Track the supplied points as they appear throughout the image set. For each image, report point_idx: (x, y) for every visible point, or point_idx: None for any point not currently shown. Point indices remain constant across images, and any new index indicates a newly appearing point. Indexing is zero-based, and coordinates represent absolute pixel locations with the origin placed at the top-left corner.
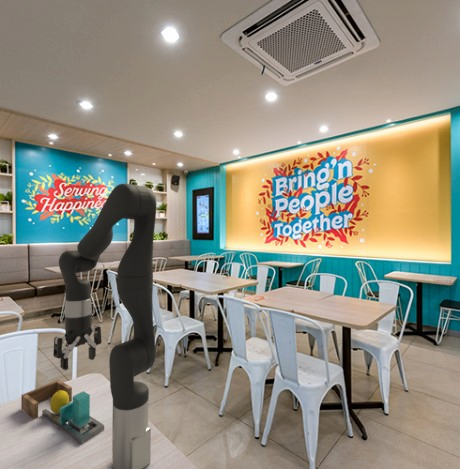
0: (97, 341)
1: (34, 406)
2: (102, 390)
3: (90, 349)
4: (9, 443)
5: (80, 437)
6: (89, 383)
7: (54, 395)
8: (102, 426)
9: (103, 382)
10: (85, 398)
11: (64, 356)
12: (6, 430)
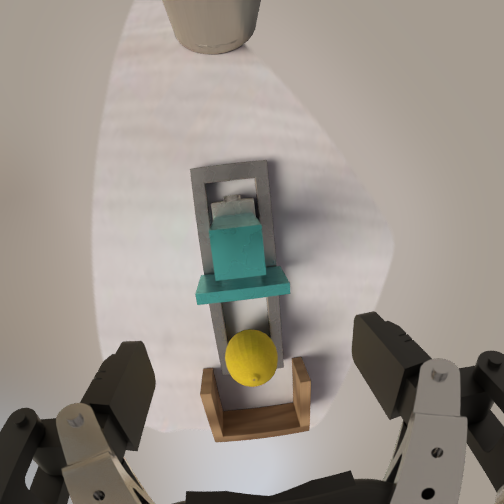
0: (36, 445)
1: (308, 377)
2: None
3: (126, 421)
4: (369, 304)
5: (264, 169)
6: None
7: (270, 373)
8: (196, 168)
9: None
10: (229, 226)
11: (451, 370)
12: None
